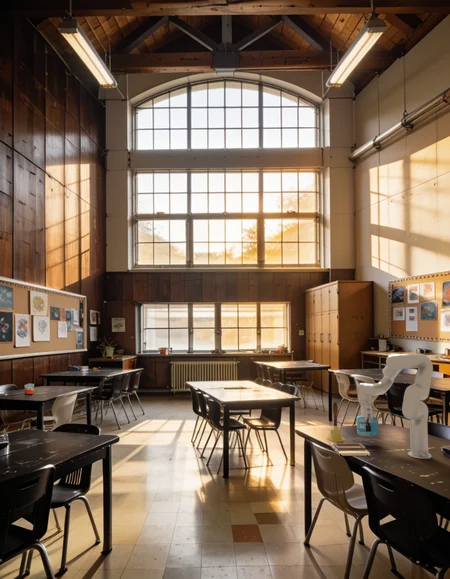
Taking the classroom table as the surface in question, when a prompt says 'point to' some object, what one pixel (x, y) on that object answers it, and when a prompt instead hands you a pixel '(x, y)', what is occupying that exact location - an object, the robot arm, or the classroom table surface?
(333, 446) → the jig
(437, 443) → the classroom table surface
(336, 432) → the handbell
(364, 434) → the data package
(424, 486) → the classroom table surface
